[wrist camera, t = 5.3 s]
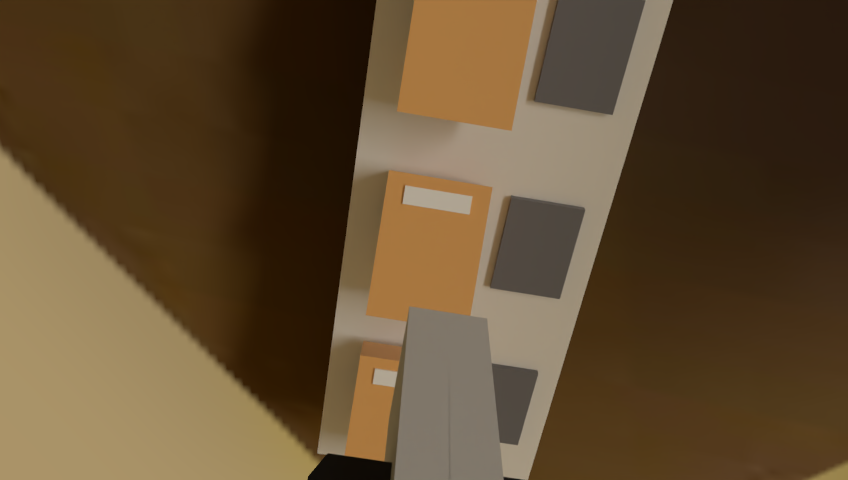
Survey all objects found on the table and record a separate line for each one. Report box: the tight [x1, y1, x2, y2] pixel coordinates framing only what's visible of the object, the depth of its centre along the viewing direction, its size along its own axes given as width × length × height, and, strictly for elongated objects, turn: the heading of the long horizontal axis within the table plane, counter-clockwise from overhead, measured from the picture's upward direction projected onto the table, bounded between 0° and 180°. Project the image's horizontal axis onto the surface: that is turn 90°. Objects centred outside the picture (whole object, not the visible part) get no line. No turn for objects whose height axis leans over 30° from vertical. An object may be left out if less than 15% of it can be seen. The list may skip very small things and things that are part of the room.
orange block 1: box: [397, 0, 537, 131], centre depth 20 cm, size 5×3×2 cm
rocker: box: [344, 341, 402, 461], centre depth 26 cm, size 5×3×2 cm
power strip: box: [317, 0, 673, 480], centre depth 25 cm, size 28×9×5 cm, turn 171°
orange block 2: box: [366, 170, 493, 322], centre depth 23 cm, size 5×3×2 cm
